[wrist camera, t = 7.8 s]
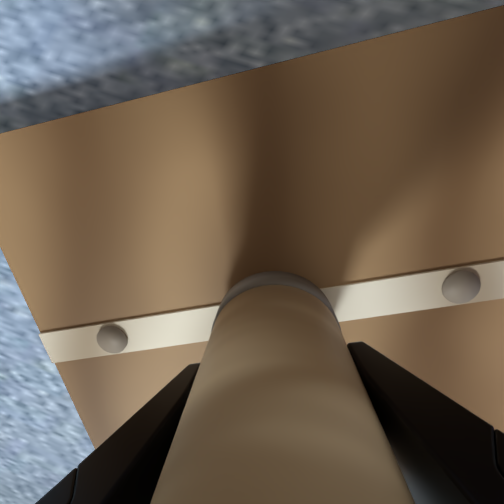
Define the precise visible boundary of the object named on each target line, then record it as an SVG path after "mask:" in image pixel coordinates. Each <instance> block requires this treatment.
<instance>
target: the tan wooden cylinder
mask: <svg viewBox="0 0 504 504" xmlns="http://www.w3.org/2000/svg"><path fill="white" fill-rule="evenodd" d="M150 504H415V501H414V499H413V497H412V494H411V492H410V490H409V488H408V485H407V483H406V481H405V478H404V476H403V474H402V471H401V469H400V467H399V464H398V462H397V460H396V457H395V455H394V453H393V451H392V448H391V446H390V444H389V441H388V439H387V437H386V434H385V432H384V430H383V427H382V425H381V423H380V421H379V418H378V416H377V414H376V411H375V409H374V407H373V404H372V402H371V400H370V397H369V395H368V393H367V391H366V388H365V386H364V384H363V381H362V379H361V377H360V374H359V372H358V370H357V367H356V365H355V363H354V361H353V358H352V356H351V354H350V351H349V349H348V347H347V344H346V342H345V340H344V337H343V335H342V332H341V327H340V325H339V322H338V319H337V317H336V315H335V313H334V310H333V308H332V306H331V304H330V302H329V300H328V298H327V297H326V296H325V294H324V293H323V292H322V291H321V290H320V289H319V288H318V287H317V286H316V285H315V284H313V283H312V282H311V281H309V280H307V279H306V278H304V277H301V276H299V275H296V274H293V273H289V272H283V271H267V272H261V273H257V274H254V275H251V276H248V277H246V278H245V279H243V280H241V281H239V282H238V283H237V284H235V285H234V286H233V287H232V288H231V289H230V290H229V291H228V292H227V294H226V295H225V296H224V298H223V300H222V301H221V304H220V306H219V308H218V311H217V314H216V316H215V319H214V322H213V325H212V329H211V335H210V338H209V341H208V343H207V346H206V349H205V352H204V355H203V357H202V360H201V363H200V366H199V369H198V371H197V374H196V377H195V380H194V383H193V385H192V388H191V391H190V394H189V396H188V399H187V402H186V405H185V408H184V410H183V413H182V416H181V419H180V422H179V424H178V427H177V430H176V433H175V436H174V438H173V441H172V444H171V447H170V450H169V452H168V455H167V458H166V461H165V464H164V466H163V469H162V472H161V475H160V478H159V480H158V483H157V486H156V489H155V492H154V494H153V497H152V500H151V503H150Z"/></svg>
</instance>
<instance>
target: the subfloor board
mask: <svg viewBox="0 0 504 504" xmlns="http://www.w3.org/2000/svg"><path fill="white" fill-rule="evenodd" d="M0 247H1V249H2V252H3V254H4V256H5V258H6V260H7V262H8V264H9V267H10V269H11V271H12V273H13V275H14V277H15V279H16V281H17V284H18V286H19V288H20V290H21V292H22V294H23V296H24V299H25V301H26V303H27V305H28V307H29V309H30V311H31V313H32V316H33V318H34V320H35V322H36V324H37V326H38V328H39V331H40V334H39V336H40V338H41V340H42V342H43V345H44V347H45V349H46V351H47V353H48V355H49V357H50V359H51V361H52V363H55V365H56V367H57V369H58V371H59V373H60V375H61V377H62V380H63V382H64V384H65V386H66V388H67V390H68V392H69V394H70V397H71V399H72V401H73V403H74V405H75V407H76V409H77V412H78V414H79V416H80V418H81V420H82V422H83V424H84V426H85V429H86V431H87V433H88V435H89V437H90V439H91V441H92V444H93V446H94V448H95V449H96V448H98V447H99V446H100V445H101V444H102V443H103V442H104V441H105V440H106V439H107V438H109V437H110V436H111V435H112V434H113V433H114V432H115V431H116V430H117V429H118V428H120V427H121V426H122V425H123V424H124V423H125V422H126V421H127V420H128V419H129V418H131V417H132V416H133V415H134V414H135V413H136V412H137V411H138V410H139V409H140V408H141V407H143V406H144V405H145V404H146V403H147V402H148V401H149V400H150V399H151V398H152V397H154V396H155V395H156V394H157V393H158V392H159V391H160V390H161V389H162V388H163V387H165V386H166V385H167V384H168V383H169V382H170V381H171V380H172V379H173V378H174V377H176V376H177V375H178V374H179V373H180V372H181V371H182V370H183V369H184V368H185V367H187V366H188V365H189V364H193V363H201V360H202V357H203V355H204V352H205V349H206V346H207V343H208V341H209V338H210V335H211V329H212V325H213V322H214V319H215V316H216V314H217V311H218V308H219V306H220V304H221V301H222V300H223V298H224V296H225V295H226V294H227V292H228V291H229V290H230V289H231V288H232V287H233V286H234V285H235V284H237V283H238V282H239V281H241V280H243V279H245V278H246V277H248V276H251V275H254V274H257V273H261V272H267V271H283V272H289V273H293V274H296V275H299V276H301V277H304V278H306V279H307V280H309V281H311V282H312V283H313V284H315V285H316V286H317V287H318V288H319V289H320V290H321V291H322V292H323V293H324V294H325V296H326V297H327V298H328V300H329V302H330V304H331V306H332V308H333V310H334V313H335V315H336V317H337V319H338V322H339V325H340V327H341V332H342V335H343V337H344V340H345V342H346V344H348V343H351V342H358V341H363V342H365V343H366V344H368V345H369V346H371V347H372V348H374V349H375V350H377V351H379V352H380V353H382V354H383V355H385V356H386V357H388V358H389V359H391V360H392V361H394V362H395V363H397V364H399V365H400V366H402V367H403V368H405V369H406V370H408V371H409V372H411V373H412V374H414V375H415V376H417V377H418V378H420V379H422V380H423V381H425V382H426V383H428V384H429V385H431V386H432V387H434V388H435V389H437V390H438V391H440V392H442V393H443V394H445V395H446V396H448V397H449V398H451V399H452V400H454V401H455V402H457V403H458V404H460V405H461V406H463V407H465V408H466V409H468V410H469V411H471V412H472V413H474V414H475V415H477V416H478V417H480V418H481V419H483V420H484V421H486V422H488V423H489V424H491V425H492V426H493V427H494V430H495V429H498V430H500V431H502V432H503V433H504V5H503V6H499V7H495V8H491V9H487V10H483V11H479V12H475V13H471V14H467V15H463V16H460V17H456V18H452V19H448V20H444V21H440V22H436V23H432V24H428V25H424V26H420V27H416V28H412V29H409V30H405V31H401V32H397V33H393V34H389V35H385V36H381V37H377V38H373V39H369V40H365V41H361V42H358V43H354V44H350V45H346V46H342V47H338V48H334V49H330V50H326V51H322V52H318V53H314V54H311V55H307V56H303V57H299V58H295V59H291V60H287V61H283V62H279V63H275V64H271V65H267V66H263V67H260V68H256V69H252V70H248V71H244V72H240V73H236V74H232V75H228V76H224V77H220V78H216V79H212V80H209V81H205V82H201V83H197V84H193V85H189V86H185V87H181V88H177V89H173V90H169V91H165V92H161V93H158V94H154V95H150V96H146V97H142V98H138V99H134V100H130V101H126V102H122V103H118V104H114V105H110V106H107V107H103V108H99V109H95V110H91V111H87V112H83V113H79V114H75V115H71V116H67V117H63V118H59V119H56V120H52V121H48V122H44V123H40V124H36V125H32V126H28V127H24V128H20V129H16V130H12V131H8V132H5V133H1V134H0Z"/></svg>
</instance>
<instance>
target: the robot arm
mask: <svg viewBox="0 0 504 504" xmlns="http://www.w3.org/2000/svg"><path fill="white" fill-rule="evenodd" d="M347 347H348V349H349V351H350V354H351V356H352V358H353V361H354V363H355V365H356V367H357V370H358V372H359V374H360V377H361V379H362V381H363V384H364V386H365V388H366V391H367V393H368V395H369V397H370V400H371V402H372V404H373V407H374V409H375V411H376V414H377V416H378V418H379V421H380V423H381V425H382V427H383V430H384V432H385V434H386V437H387V439H388V441H389V444H390V446H391V448H392V451H393V453H394V455H395V457H396V460H397V462H398V464H399V467H400V469H401V471H402V474H403V476H404V478H405V481H406V483H407V485H408V488H409V490H410V492H411V494H412V497H413V499H414V501H415V504H504V433H503V432H502V431H500V430H498V429H495V430H494V427H493V426H492V425H491V424H489V423H488V422H486V421H484V420H483V419H481V418H480V417H478V416H477V415H475V414H474V413H472V412H471V411H469V410H468V409H466V408H465V407H463V406H461V405H460V404H458V403H457V402H455V401H454V400H452V399H451V398H449V397H448V396H446V395H445V394H443V393H442V392H440V391H438V390H437V389H435V388H434V387H432V386H431V385H429V384H428V383H426V382H425V381H423V380H422V379H420V378H418V377H417V376H415V375H414V374H412V373H411V372H409V371H408V370H406V369H405V368H403V367H402V366H400V365H399V364H397V363H395V362H394V361H392V360H391V359H389V358H388V357H386V356H385V355H383V354H382V353H380V352H379V351H377V350H375V349H374V348H372V347H371V346H369V345H368V344H366V343H365V342H363V341H358V342H351V343H348V344H347ZM199 366H200V363H193V364H189V365H188V366H187V367H185V368H184V369H183V370H182V371H181V372H180V373H179V374H178V375H177V376H176V377H174V378H173V379H172V380H171V381H170V382H169V383H168V384H167V385H166V386H165V387H163V388H162V389H161V390H160V391H159V392H158V393H157V394H156V395H155V396H154V397H152V398H151V399H150V400H149V401H148V402H147V403H146V404H145V405H144V406H143V407H141V408H140V409H139V410H138V411H137V412H136V413H135V414H134V415H133V416H132V417H131V418H129V419H128V420H127V421H126V422H125V423H124V424H123V425H122V426H121V427H120V428H118V429H117V430H116V431H115V432H114V433H113V434H112V435H111V436H110V437H109V438H107V439H106V440H105V441H104V442H103V443H102V444H101V445H100V446H99V447H98V448H96V449H95V450H94V451H93V452H92V453H91V454H90V455H89V456H88V457H87V458H85V459H84V460H83V461H82V462H81V463H80V464H79V465H78V468H75V469H73V470H72V471H71V472H70V473H69V474H68V475H67V476H66V477H64V478H63V479H62V480H61V481H60V482H59V483H58V484H57V485H56V486H55V487H53V488H52V489H51V490H50V491H49V492H48V493H47V494H45V495H44V496H43V497H42V498H41V499H40V500H39V501H38V502H36V503H35V504H150V503H151V500H152V497H153V494H154V492H155V489H156V486H157V483H158V480H159V478H160V475H161V472H162V469H163V466H164V464H165V461H166V458H167V455H168V452H169V450H170V447H171V444H172V441H173V438H174V436H175V433H176V430H177V427H178V424H179V422H180V419H181V416H182V413H183V410H184V408H185V405H186V402H187V399H188V396H189V394H190V391H191V388H192V385H193V383H194V380H195V377H196V374H197V371H198V369H199Z"/></svg>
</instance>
